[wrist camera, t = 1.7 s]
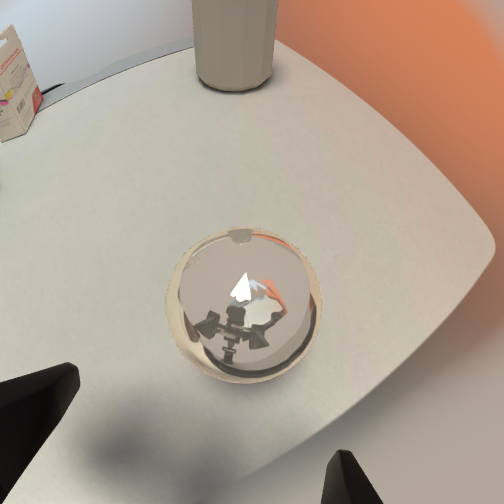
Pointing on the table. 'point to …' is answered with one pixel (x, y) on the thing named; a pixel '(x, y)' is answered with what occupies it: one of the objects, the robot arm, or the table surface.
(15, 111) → the ink cartridge box
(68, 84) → the table surface
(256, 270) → the light bulb
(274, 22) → the jar
